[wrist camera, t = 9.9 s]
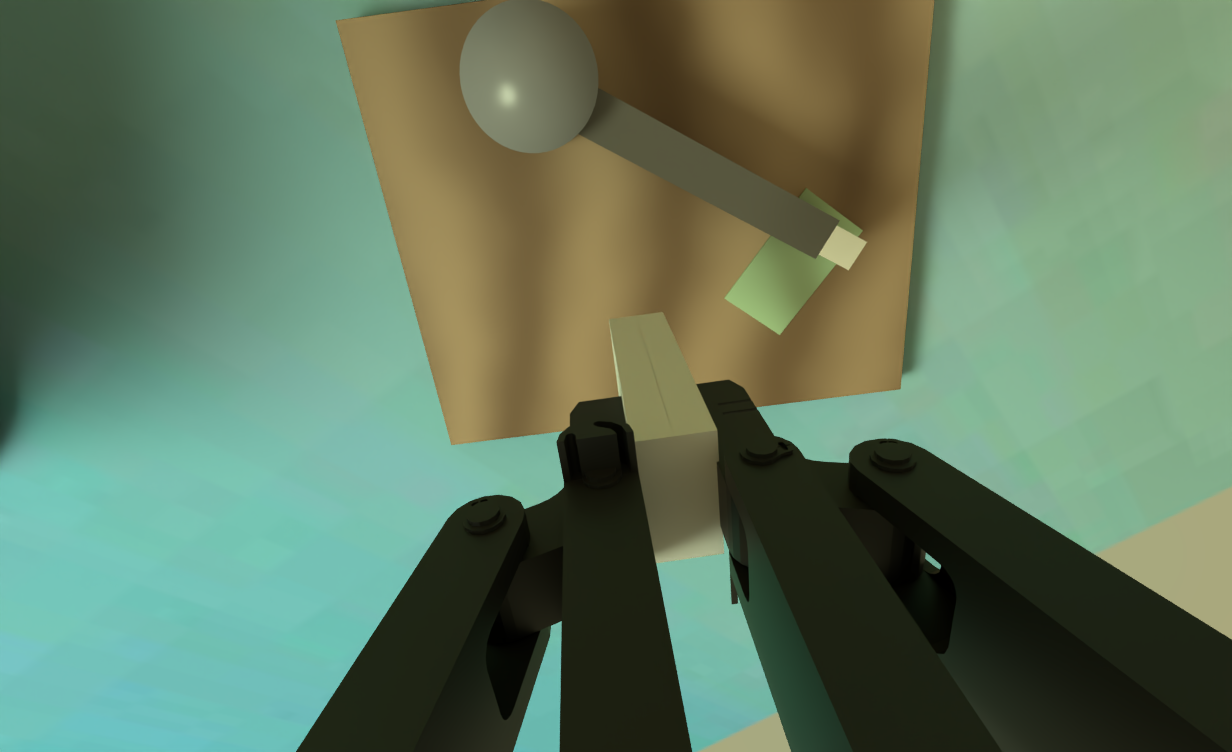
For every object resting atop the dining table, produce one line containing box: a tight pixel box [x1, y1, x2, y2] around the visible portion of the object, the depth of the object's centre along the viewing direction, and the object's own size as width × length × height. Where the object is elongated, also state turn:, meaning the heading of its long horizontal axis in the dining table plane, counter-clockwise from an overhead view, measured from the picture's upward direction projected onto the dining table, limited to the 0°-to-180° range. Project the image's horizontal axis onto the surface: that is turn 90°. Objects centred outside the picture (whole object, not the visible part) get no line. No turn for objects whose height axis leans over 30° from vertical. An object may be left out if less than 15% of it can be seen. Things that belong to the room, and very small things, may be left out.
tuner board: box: [336, 0, 934, 445], centre depth 25 cm, size 22×18×1 cm
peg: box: [460, 0, 867, 270], centre depth 21 cm, size 16×4×4 cm, turn 64°
